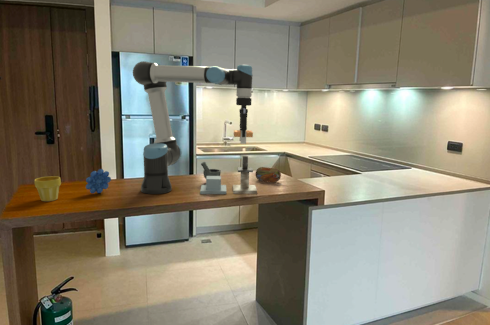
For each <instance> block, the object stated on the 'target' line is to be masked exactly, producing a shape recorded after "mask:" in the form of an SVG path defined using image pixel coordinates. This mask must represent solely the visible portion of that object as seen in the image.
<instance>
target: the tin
mask: <svg viewBox="0 0 490 325" xmlns="http://www.w3.org/2000/svg"><path fill="white" fill-rule="evenodd" d="M255 177H256V179H257V180H258V181H259V182H264V183H278V182H279V181H280V180H281V177H282V174H281V171H280V169H278V168H277V167H267V166H260V167H258V168H257V169H256V170H255Z"/></svg>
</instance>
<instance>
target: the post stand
mask: <svg viewBox="0 0 490 325" xmlns="http://www.w3.org/2000/svg"><path fill="white" fill-rule="evenodd" d="M241 164H242V166H237V168H236V169H237V173H240V184H232V193H233V194H251V195H252V194H253V195H255V194H256V195H257V194H258V189H257V187H256V184H250V173H253V172H254V169H253V167H249V156H248V155H242V163H241Z"/></svg>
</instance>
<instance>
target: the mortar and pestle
mask: <svg viewBox="0 0 490 325" xmlns="http://www.w3.org/2000/svg"><path fill="white" fill-rule="evenodd" d="M200 165H201V166H202V168H203V170H202V172H203V177H204V179H205V180H206V177H207V176H221V170H220V169H217V168H210V167H208V165H207V162H206V161H203V162H201V163H200Z"/></svg>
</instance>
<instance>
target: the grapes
mask: <svg viewBox="0 0 490 325" xmlns="http://www.w3.org/2000/svg"><path fill="white" fill-rule="evenodd" d="M109 175H110V172H109V171H107V170H105V171H104V169H103V168H98V170H97V171H96V170H93V171H92V172H91V173H90V176H87V177H86V179H85V182H86V183H87V184H86V185H85V189H86V190H89V192H90V193H91V194H95V193H97V194H101V193H103V191H104V190H107V189H108V188H109V183H110V182H112V178H111V177H110V176H109Z"/></svg>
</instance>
